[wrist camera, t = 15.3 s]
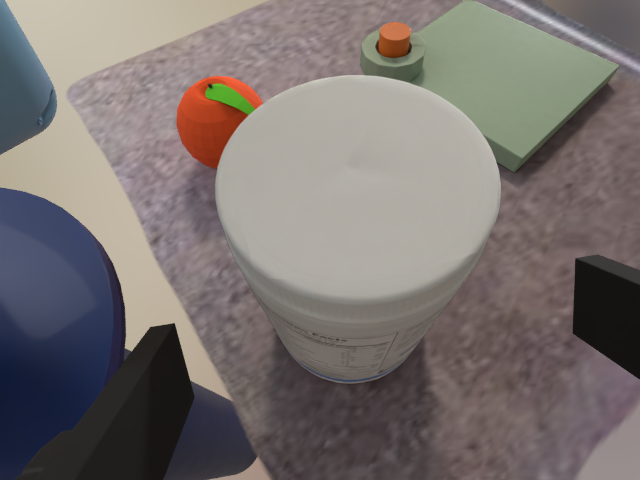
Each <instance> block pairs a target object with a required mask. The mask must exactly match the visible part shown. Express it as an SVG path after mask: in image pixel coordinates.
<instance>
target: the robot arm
mask: <svg viewBox="0 0 640 480" xmlns="http://www.w3.org/2000/svg"><path fill="white" fill-rule="evenodd" d="M56 108H57V99H56V93H55V90H54V86H53V84H52V82H51V80H50V78H49V76H48V74H47V73H46V71H45V69H44V67H43V65H42V64H41V62H40V60H39V59H38V57H37V55H36V53H35V51H34V50H33V48H32V46H31V45H30V43H29V41H28V39H27V38H26V36H25V34H24V32H23V31H22V29H21V27H20V26H19V24H18V22H17V20H16V19H15V17H14V15H13V14H12V12H11V10H10V9H9V7H8V5H7V3H6V2H5V0H0V155H1V154H3V153H4V152H6V151H8V150H10V149H12V148H13V147H15V146H17V145H19V144H21V143H23V142H24V141H26V140H28V139H30V138H32V137H33V136H35V135H37V134H39V133H40V132H42V131H44V129H46V128H47V127H48V126H49V125H50V123H51V122H52V120H53V118H54V116H55V113H56ZM573 334H574V335H576V336H577V337H579V338H580V339H582V340H583V341H585V342H586V343H588V344H589V345H590V346H592V347H593V348H595V349H596V350H598V351H599V352H601V353H602V354H603V355H605V356H606V357H608V358H609V359H611V360H612V361H614V362H615V363H617V364H618V365H619V366H621V367H622V368H624V369H625V370H627V371H628V372H630V373H631V374H633V375H634V376H635V377H637V378H638V379H640V270H638V269H635V268H632V267H630V266H627V265H624V264H622V263H619V262H616V261H614V260H611V259H608V258H606V257H603V256H600V255H593V256H587V257H581V258H576V260H575V286H574V312H573ZM193 400H194V393H193V389H192V386H191V382H190V378H189V375H188V371H187V367H186V364H185V360H184V356H183V352H182V349H181V345H180V341H179V338H178V334H177V330H176V327H175V324H174V323H173V324H168V325H161V326H155V327H150V329H149V330H148V331H147V333H146V334H145V335H144V336H143V338H142V339H141V340H140V342H139V343H138V344H137V346H136V347H135V348H134V349H133V351H132V352H131V353H130V355H129V356H128V357H127V359H126V360H125V361H124V363H123V364H122V365H121V367H120V368H119V369H118V371H117V372H116V373H115V375H114V376H113V377H112V378H111V380H110V381H109V382H108V384H107V385H106V386H105V388H104V389H103V390H102V392H101V393H100V394H99V396H98V397H97V398H96V400H95V401H94V402H93V404H92V405H91V406H90V408H89V409H88V410H87V411H86V413H85V414H84V415H83V417H82V418H81V419H80V421H79V422H78V423H77V425H76V426H75V427H74V429H73V430H67V431H62V432H61V433H59V434H58V435H57V436H56V437H55V438H53V439H52V440H51V441H50V442H48V443H47V444H46V445H45V446H44V447H42V448H41V449H40V450H39V451H38V452H37V453H36V454H35V456H34V457H33V458H32V459H31V461H30V462H29V463H28V464H27V465H26V467H25V468H24V469H23V470H22V474H21V475H19V476H17V478H16V479H15V480H163V479H164V476H165V473H166V471H167V468H168V465H169V463H170V460H171V458H172V455H173V452H174V450H175V447H176V444H177V442H178V439H179V437H180V434H181V431H182V429H183V426H184V423H185V421H186V418H187V416H188V413H189V410H190V408H191V405H192V402H193Z"/></svg>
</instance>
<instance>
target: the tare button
mask: <svg viewBox="0 0 640 480" xmlns="http://www.w3.org/2000/svg"><path fill="white" fill-rule="evenodd" d="M410 36H411V29H410V28H409V27H408V26H407V25H405V24H403V23H399V22H392V23H388V24H385V25H384V26H382V28H381V29H380V36H379V47H378V51H379V53H380V54H381V55H382V56H384V57H388V58H398V57H403V56H405V55H406V54H407V53H408V48H409V42H410Z"/></svg>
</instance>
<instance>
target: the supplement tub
mask: <svg viewBox="0 0 640 480" xmlns="http://www.w3.org/2000/svg"><path fill="white" fill-rule="evenodd" d="M215 195H216V205H217V211H218V215H219V218H220V221H221V224H222V226H223V229H224V233H225V236H226V240H227V243H228V245H229V248H230V250H231V252H232V255H233V257H234V259H235V260H236V262H237V264H238V266H239V268H240V270H241V271H242V273H243V275H244V277H245V279H246V280H247V282H248V284H249V286H250V287H251V289H252V291H253V293H254V294H255V296H256V298H257V300H258V301H259V303H260V305H261V306H262V308H263V310H264V312H265V313H266V315H267V317H268V319H269V320H270V322H271V324H272V325H273V327H274V329H275V330H276V332H277V334H278V336H279V337H280V339H281V341H282V343H283V344H284V346H285V347H286V349H287V350H288V352H289V353H290V355H291V356H292V357H293V358H294V359H295V360H296V361H297V362H298V363H299V364H300V365H301V366H302V367H303V368H305V369H306V370H308V371H309V372H311V373H312V374H314V375H316V376H318V377H320V378H323V379H326V380H329V381H333V382H337V383H347V384H354V383H363V382H368V381H372V380H375V379H378V378H381V377H383V376H385V375H387V374H388V373H390V372H391V371H393V370H394V369H396V368H397V367H398V366H400V365H401V364H402V363H403V362H404V361H405V360H406V358H407V357H408V356H409V355H410V354H411V353H412V351H413V350H414V349H415V347H416V346H417V345H418V343H419V342H420V341H421V339H422V338H423V337H424V335H425V334H426V333H427V331H428V330H429V329H430V327H431V326H432V325H433V323H434V322H435V321H436V319H437V318H438V317H439V315H440V314H441V313H442V311H443V310H444V309H445V308H446V306H447V305H448V304H449V302H450V301H451V299H452V298H453V297H454V295H455V294H456V293H457V291H458V290H459V289H460V287H461V286H462V284H463V283H464V281H465V280H466V279H467V277H468V276H469V275H470V273H471V272H472V270H473V269H474V267H475V266H476V264H477V263H478V261H479V259H480V257H481V255H482V252H483V250H484V248H485V245H486V242H487V239H488V238H489V236H490V234H491V232H492V230H493V227H494V225H495V222H496V219H497V216H498V213H499V206H500V198H501V183H500V175H499V170H498V166H497V163H496V159H495V157H494V154H493V152H492V150H491V148H490V146H489V144H488V142H487V140H486V139H485V137H484V136H483V134H482V133H481V132H480V130H479V129H478V128H477V127H476V125H475V124H474V123H473V122H472V121H471V120H470V119H469V118H468V117H467V116H466V115H465V114H464V113H463V112H462V111H461V110H459V109H458V108H457V107H455V106H454V105H453V104H451V103H450V102H448V101H447V100H445V99H443V98H442V97H440V96H438V95H437V94H435V93H433V92H431V91H429V90H426V89H424V88H421V87H419V86H416V85H413V84H410V83H407V82H404V81H400V80H395V79H390V78H385V77H379V76H367V75H349V76H337V77H330V78H323V79H319V80H315V81H311V82H307V83H304V84H301V85H298V86H295V87H293V88H291V89H288V90H286V91H284V92H282V93H280V94H278V95H276V96H274V97H272V98H271V99H269V100H268V101H266V102H265V103H263V104H262V105H261V106H259V107H258V108H257V109H256V110H254V111H253V112H252V113H251V114H250V115H249V116H248V117H247V118H246V119H245V120H244V121H243V122H242V123H241V124H240V125H239V126H238V128H237V129H236V130H235V132H234V133H233V135H232V136H231V138H230V139H229V141H228V143H227V145H226V146H225V148H224V150H223V153H222V155H221V158H220V161H219V165H218V168H217V173H216V180H215Z"/></svg>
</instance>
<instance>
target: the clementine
mask: <svg viewBox="0 0 640 480" xmlns="http://www.w3.org/2000/svg"><path fill="white" fill-rule="evenodd" d="M262 104H263V102H262V100H261V99H260V97H259V96H258V95H257V94H256V93H255V91H253V90H252V89H251V88H250V87H249V86H248V85H246V84H244V83H243V82H241V81H239V80H237V79H235V78H230V77H221V76H214V77H208V78H205V79H203V80H201V81H199V82H197V83H195V84H194V85H193V86H191V87H190V88H189V89H188V90H187V91H186V92H185V94H184V95H183V97H182V100H181V102H180V104H179V106H178V109H177V128H178V132H179V135H180V138H181V141H182V143H183V145H184V146H185V147H186V149H187V150H188V151H189V153H190V154H191V155H192V156H193V157H194V158H195V159H197V160H198V161H200V162H201V163H203V164H205V165H206V166H208V167H212V168H215V169H217V168H218V165H219V161H220V158H221V155H222V153H223V150H224V148H225V146H226V145H227V143H228V141H229V139H230V138H231V136H232V135H233V133H234V132H235V130H236V129H237V128H238V126H239V125H240V124H241V123H242V122H243V121H244V120H245V119H246V118H247V117H248V116H249V115H250V114H251V113H252V112H253V111H254V110H256V109H257V108H258V107H259V106H261V105H262Z"/></svg>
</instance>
